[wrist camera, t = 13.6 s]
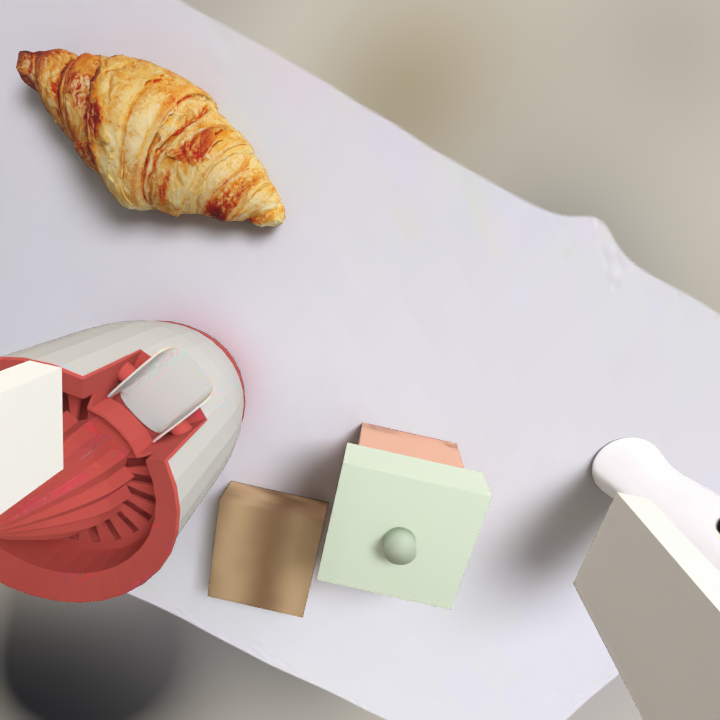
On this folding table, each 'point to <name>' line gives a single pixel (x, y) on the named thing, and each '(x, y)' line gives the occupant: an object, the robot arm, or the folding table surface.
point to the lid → (403, 526)
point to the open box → (410, 445)
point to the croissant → (152, 137)
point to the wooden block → (265, 548)
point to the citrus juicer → (122, 457)
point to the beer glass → (661, 491)
